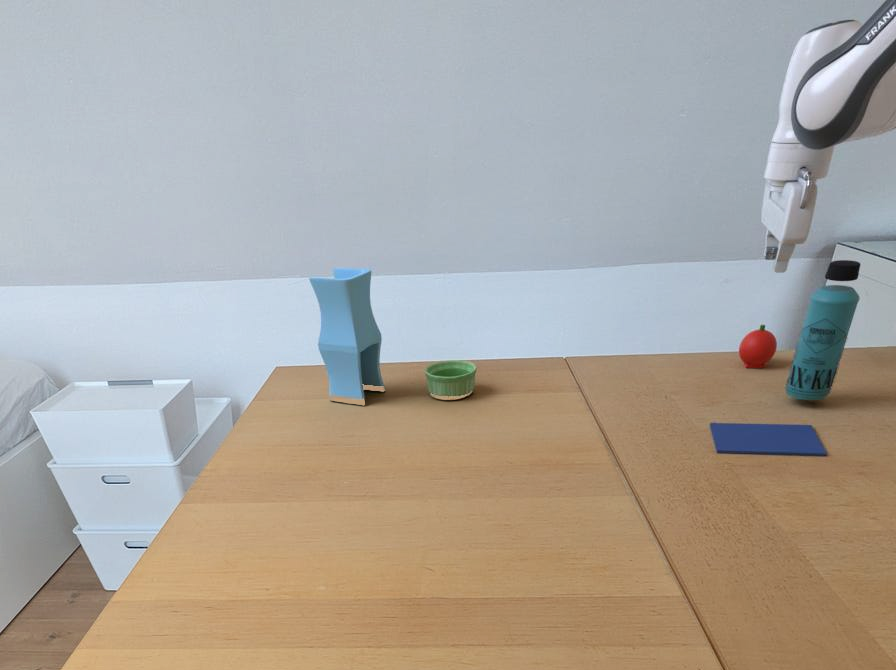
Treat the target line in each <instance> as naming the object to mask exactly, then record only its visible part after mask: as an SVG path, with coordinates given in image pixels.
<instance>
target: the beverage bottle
mask: <svg viewBox="0 0 896 670" xmlns="http://www.w3.org/2000/svg"><path fill="white" fill-rule="evenodd" d="M860 268H861V262H859V261H856V260H847V259H839V260H838V259H837V260H832V261H831V262H829V264H828V267H827V270H826V272H825V275H824V278H825V280H828V281H834V282H853V281H857V280H858V279H859V275H860ZM859 301H860V295H859V293H858V292H857V291H856V289H855V288H854V287H852V286H848V285H841V284H829V285H823V286H821V287H819V288H818V289H817V290H815V291H814V292H813V293H812V294H811V296H810V300H809V304H808V308H807V310H806V311H807V312H806V315H805V318H804V322H803V325H802V329H801V331H800V332H799V335H798V336H799V338H798V341H797V345H796V348H795V352H794V354H793V360H792V361H791V365H790V369H789V370H788V371H789V374H788V376H787V379H786V382H785V386H784V387H785V394H786V395H787V396H789V397H791V398H794V399H798V400H803V401H818V400H823V399H825V398H828V396H829V395H830V393H831V391H832V387H833V386H834V384H835V380H836V379H835V378H836V376H837V375H838V370H839V367H840V362H841V360H842V357H843V353H844V350H845V345H846V343H847V341H848V340H849V337H848V335H849V332H850V329H851V326H852V323H853V319H854V316H855V313H856V310H857V306H858V303H859Z"/></svg>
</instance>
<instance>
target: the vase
mask: <svg viewBox="0 0 896 670" xmlns="http://www.w3.org/2000/svg"><path fill="white" fill-rule="evenodd" d="M332 272H333V277H314V276H312V277H308V280H309V282H310V285H311V287H312V289H313V291H314V294H315V296H316V301H317V303H318V307H319V311H320V331H319V336H318V342H317V347H318V351H319V354H320V356H321V358H322V360H323V361H322V362H323V364H324V366H325V369H326V373H327V376H328V385H329V396H330V395H334V396H341V397H349V398H357V399H363V398H365V399H366V397H365V392H364V391H365V390H363V385H362V384H364V385H373V386H385V384H384V381H383V377H382V372H381V366H380V362H381V361H380V359H381V358H380V357H381V356H380V355H381V349H382V348H381V347H382V342H383V341H382V340H383V339H382V332H381V330H380V328H379V326H378V324H377V321H376V318H375V316H374V313H373V310H372V309H373V308H372V303H371V281H372V270H371V269H369V268H350V267H334V268H333V269H332Z"/></svg>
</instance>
